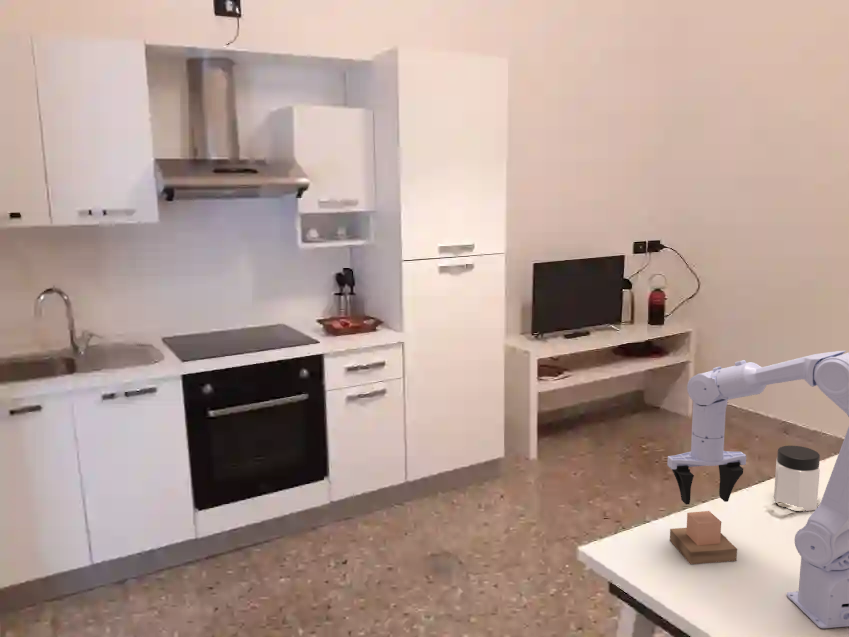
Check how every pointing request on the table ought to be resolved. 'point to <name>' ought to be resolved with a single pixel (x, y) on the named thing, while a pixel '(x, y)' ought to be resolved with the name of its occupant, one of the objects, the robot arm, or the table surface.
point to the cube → (703, 528)
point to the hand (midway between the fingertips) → (704, 500)
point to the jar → (797, 477)
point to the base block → (702, 548)
